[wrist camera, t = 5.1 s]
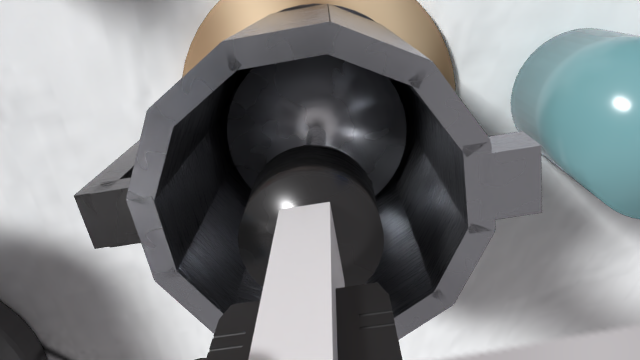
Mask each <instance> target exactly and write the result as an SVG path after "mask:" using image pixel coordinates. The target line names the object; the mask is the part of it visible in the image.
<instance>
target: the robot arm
mask: <svg viewBox="0 0 640 360" xmlns="http://www.w3.org/2000/svg"><path fill="white" fill-rule="evenodd" d="M0 360H47V358H46V355H45V352H44V350H43V348H42V346H41V344H40V342H39V340H38V339H37V337H36V335H35V334H34V333H33V331H32V330H31V329H30V328H29V326H28V325H27V324H26V323H25V322H24V321H23V320H22V319H21V318H20V317H19V316H18V315H17V314H16V313H15V312H13V311H12V310H11V309H10V308H8V307H7V306H6V305H4V304H3V303H1V302H0ZM196 360H402V356H401V351H400V346H399V341H398V336H397V331H396V326H395V321H394V317H393V312H392V307H391V302H390V297H389V294H388V293H387V292H386V291H385V290H384V289H383V288H382V287H381V286H380V285H379V283H378V282H377V283H370V284H363V285H356V286H349V287H345V283H344V276H343V271H342V265H341V260H340V254H339V249H338V243H337V238H336V233H335V227H334V222H333V216H332V211H331V205H330V202H325V203H318V204H312V205H305V206H299V207H293V208H286V209H280V210H279V213H278V218H277V223H276V228H275V232H274V237H273V242H272V247H271V252H270V257H269V262H268V267H267V271H266V276H265V281H264V286H263V291H262V296H261V300H260V301H253V302H246V303H239V304H232V305H231V306H230V307H229V308H228V309H227V310H226V312H225V313H224V314H223V315H222V316H221V318H220V319H219V320H218V324H217V327H216V330H215V333H214V339H212V342H211V346H210V352H208V355H207V358H199V359H196Z"/></svg>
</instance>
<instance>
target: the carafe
mask: <svg viewBox="0 0 640 360" xmlns="http://www.w3.org/2000/svg"><path fill="white" fill-rule="evenodd" d="M325 54H328V55H331V56H333V57H336V58H339V59H341V60H344V61H347V62H349V63H352V64H355V65H357V66H360V67H363V68H365V69H368V70H371V71H373V72H376V73H379V74H381V75H384V76H387V77H388V78H389V80H390V81H391V83H392V84H393V86H394V87H395V89H396V91H397V93H398V95H399V97H400V99H401V102H402V105H403V108H404V113H405V118H406V143H405V148H404V152H403V156H402V158H401V161H400V164H399V166H398V168H397V170H396V171H395V173H394V175H393V176H392V178H391V179H390V181H389V182H388V183H387V185H386V186H385V187H384V188H383V189H382V190H381V191H380V192H379V193H378V194H376V195H375V198H376V202H377V206H378V211H379V215H380V219H381V223H382V228H383V232H384V248H383V253H382V257H381V260H380V262H379V265H378V267H377V268H376V270H375V272H374V273H373V275H372V276H371V277H370V279H369V280H368V281H367V282H366V283H365V284H370V283H377V282H378V283H379V285H380V286H381V287H382V288H383V289H384V290H385V291H386V292H387V293H388V294H389V297H390V302H391V307H392V312H393V317H394V321H395V326H396V331H397V336H398V340H399V339H400V338H402V337H404V336H405V335H407V334H408V333H410V332H411V331H413V330H415V329H416V328H418V327H419V326H421V325H422V324H424V323H426V322H427V321H429V320H430V319H432V318H433V317H435V316H437V315H438V314H440V313H441V312H443V311H445V310H446V309H448V308H449V307H451V306H452V305H453V304H454V303H455V301H456V300H457V298H458V296H459V294H460V292H461V291H462V289H463V287H464V285H465V284H466V282H467V280H468V278H469V277H470V275H471V273H472V271H473V269H474V268H475V266H476V264H477V262H478V261H479V259H480V257H481V255H482V253H483V252H484V250H485V248H486V246H487V245H488V243H489V241H490V239H491V238H492V236H493V234H494V232H495V219H502V218H509V217H516V216H522V215H529V214H536V213H542V194H541V145H540V144H539V143H537V142H536V141H535V140H533V139H532V138H531V137H529V136H528V135H527V134H525V133H524V132H523V131H520V132H514V133H508V134H502V135H496V136H489V137H488V136H487V134H486V133H485V132H484V130H483V129H482V128H481V126H480V125H479V123H478V122H477V121H476V119H475V118H474V117H473V115H472V114H471V113H470V111H469V110H468V109H467V107H466V106H465V104H464V103H463V102H462V100H461V99H460V98H459V96H458V95H457V94H456V92H455V91H454V90H453V88H452V87H451V86H450V84H449V83H448V81H447V80H446V79H445V77H444V76H443V75H442V73H441V72H440V71H439V69H438V68H437V67H436V65H435V64H434V62H433V61H432V60H430V59H429V58H427V57H426V56H425V55H423V54H422V53H421V52H419V51H418V50H416V49H415V48H414V47H412V46H411V45H410V44H408V43H407V42H405V41H404V40H403V39H401V38H400V37H398V36H397V35H396V34H394V33H393V32H392V31H390V30H389V29H387V28H386V27H385V26H383V25H382V24H380V23H377V22H376V21H374V20H372V19H371V18H369V17H368V16H366V15H364V14H362V13H360V12H358V11H355V10H353V9H349V8H346V7H343V6H338V5H332V4H327V3H326V4H319V3H312V4H303V5H297V6H293V7H290V8H286V9H283V10H281V11H278V12H276V13H272V14H269V15H268V16H266V17H264V18H262V19H261V20H259V21H257V22H255V23H254V24H252V25H250V26H248V27H246V28H245V29H243V30H241V31H239V32H238V33H236V34H234V35H232V36H230V37H229V38H227V39H225V40H223V41H222V42H220V43H219V44H218V45H217V46H216V47H215V48H214V49H213V50H212V51H211V52H210V53H208V54H207V55H206V56H205V57H204V58H203V59H202V60H201V61H200V62H199V63H198V64H197V65H195V66H194V67H193V68H192V69H191V70H190V71H189V72H188V73H187V74H186V75H185V76H184V77H182V78H181V79H180V80H179V81H178V82H177V83H176V84H175V85H174V86H173V87H172V88H171V89H169V90H168V91H167V92H166V93H165V94H164V95H163V96H162V97H161V98H160V99H159V100H158V101H156V102H155V103H154V104H153V105H152V106H151V107H150V108H149V109H148V110H147V113H146V117H145V121H144V125H143V129H142V134H141V138H140V140H139V141H138V142H137V143H135V144H134V145H133V146H132V147H131V148H130V149H128V150H127V151H126V152H125V153H124V154H122V155H121V156H120V157H119V158H118V159H117V160H115V161H114V162H113V163H112V164H111V165H109V166H108V167H107V168H106V169H105V170H104V171H102V172H101V173H100V174H99V175H98V176H96V177H95V178H94V179H93V180H92V181H91V182H89V183H88V184H87V185H86V186H85V187H83V188H82V189H81V190H80V191H79V192H78V193H76V194H75V195H74V197H75V200H76V202H77V205H78V208H79V210H80V213H81V215H82V218H83V220H84V223H85V225H86V228H87V230H88V233H89V235H90V238H91V241H92V243H93V246H94V248H95V249H96V248H103V247H117V246H123V245H130V244H136V243H141V244H142V247H143V249H144V252H145V255H146V258H147V261H148V264H149V266H150V269H151V272H152V275H153V278H154V280H155V282H157V283H158V284H159V285H160V286H161V287H162V288H163V289H164V290H166V291H167V292H168V293H169V294H170V295H171V296H172V297H173V298H175V299H176V300H177V301H178V302H179V303H180V304H181V305H182V306H183V307H185V308H186V309H187V310H188V311H189V312H190V313H191V314H192V315H194V316H195V317H196V318H197V319H198V320H199V321H200V322H201V323H203V324H204V325H205V326H206V327H207V328H208V329H209V330H210V331H212V332H213V333H215V330H216V327H217V324H218V320H219V319H220V318H221V316H222V315H223V314H224V313H225V312H226V310H227V309H228V308H229V307H230V306H231V305H232V304H239V303H246V302H253V301H260V300H261V296H262V291H263V287H262V286H261V285H259V284H258V283H257V282H256V281H255V280H254V279H253V277H252V276H251V275H250V274H249V272H248V271H247V269H246V267H245V265H244V263H243V261H242V258H241V256H240V252H239V247H238V231H239V226H240V222H241V219H242V216H243V213H244V210H245V207H246V205H247V202H248V199H249V196H250V193H251V190H252V189H251V188H250V187H249V185H248V184H247V183H246V182H245V181H244V179H243V178H242V176H241V175H240V173H239V172H238V170H237V168H236V166H235V164H234V162H233V159H232V156H231V153H230V149H229V144H228V138H227V122H228V114H229V110H230V106H231V103H232V100H233V98H234V95H235V93H236V91H237V89H238V87H239V86H240V84H241V83H242V81H243V80H244V78H245V77H246V76H247V74H248V73H249V72H250V71H251V70H252V69H253V68H254V67H258V66H263V65H269V64H275V63H280V62H286V61H292V60H297V59H303V58H308V57H314V56H320V55H325Z"/></svg>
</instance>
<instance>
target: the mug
mask: <svg viewBox="0 0 640 360" xmlns="http://www.w3.org/2000/svg"><path fill="white" fill-rule="evenodd" d="M511 113H512V118H513V121H514V124H515V126H516V128H517V130H518V132H520V131H523V132H524V133H525V134H527V135H528V136H529V137H531V138H532V139H533V140H535V141H536V142H537V143H539V144H540V145H541V154H543V155H544V156H545V157H547V158H548V159H549V160H550V161H552V162H553V163H554V164H555V165H557V166H558V167H559V168H561V169H562V170H563V171H564V172H566V173H567V174H568V175H569V176H571V177H572V178H573V179H574V180H576V181H577V182H578V183H580V184H581V185H582V186H583V187H585V188H586V189H587V190H588V191H590V192H591V193H592V194H594V195H595V196H596V197H597V198H599V199H600V200H601V201H602V202H604V203H605V204H606V205H608V206H609V207H610V208H612V209H613V210H615V211H617V212H619V213H621V214H623V215H626V216H629V217H632V218H636V219H640V36H637V35H631V34H625V33H619V32H613V31H607V30H601V29H593V28H584V29H576V30H571V31H568V32H565V33H562V34H560V35H558V36H555V37H553V38H552V39H550V40H548V41H547V42H545V43H544V44H543V45H541V46H540V47H539V48H538V49H537V50H536V51H535V52H533V53H532V54H531V56H530V57H529V58H528V59H527V60H526V62H525V63H524V65H523V66H522V68H521V69H520V71H519V73H518V75H517V77H516V80H515V83H514V86H513V90H512V94H511Z"/></svg>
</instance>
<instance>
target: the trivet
mask: <svg viewBox="0 0 640 360" xmlns="http://www.w3.org/2000/svg"><path fill="white" fill-rule="evenodd" d="M312 3H319V4H326V3H327V4H332V5H338V6H343V7H346V8H349V9H353V10H355V11H358V12H360V13H362V14H364V15H366V16H368V17H369V18H371V19H372V20H374V21H376V22H377V23H380V24H382V25H383V26H385V27H386V28H387V29H389V30H390V31H392V32H393V33H394V34H396V35H397V36H398V37H400V38H401V39H403V40H404V41H405V42H407V43H408V44H410V45H411V46H412V47H414V48H415V49H416V50H418V51H419V52H421V53H422V54H423V55H425V56H426V57H427V58H429V59H430V60H432V61H433V62H434V64H435V65H436V67H437V68H438V69H439V71H440V72H441V73H442V75H443V76H444V77H445V79H446V80H447V81H448V83H449V84H450V86H451V87H452V88H453V90H454V91H455V80H454V72H453V67H452V63H451V60H450V56H449V52H448V49H447V47H446V45H445V43H444V40H443V38H442V36H441V33H440V32H439V30H438V28H437V27H436V25H435V24H434V22H433V20H432V19H431V17H430V16H429V15H428V13H427V12H426V11H425V10H424V9H423V7H422V6H421V5H420V4H419V3H418V2H417V1H416V0H220V1H219V2H218V3H217V4H216V5H215V6H214V7H213V9H212V10H211V11H210V12H209V13H208V15H207V16H206V18H205V19H204V21H203V22H202V24H201V25H200V27H199V29H198V31H197V33H196V35H195V37H194V39H193V41H192V43H191V45H190V48H189V51H188V54H187V57H186V60H185V65H184V70H183V76H182V77H184V76H185V75H186V74H187V73H188V72H189V71H190V70H191V69H192V68H193V67H194V66H195V65H197V64H198V63H199V62H200V61H201V60H202V59H203V58H204V57H205V56H206V55H207V54H208V53H210V52H211V51H212V50H213V49H214V48H215V47H216V46H217V45H218V44H219V43H220V42H222V41H223V40H225V39H227V38H229V37H230V36H232V35H234V34H236V33H238V32H239V31H241V30H243V29H245V28H246V27H248V26H250V25H252V24H254V23H255V22H257V21H259V20H261V19H262V18H264V17H266V16H268V15H269V14H272V13H276V12H278V11H281V10H283V9H286V8H290V7H293V6H297V5H303V4H312Z"/></svg>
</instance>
